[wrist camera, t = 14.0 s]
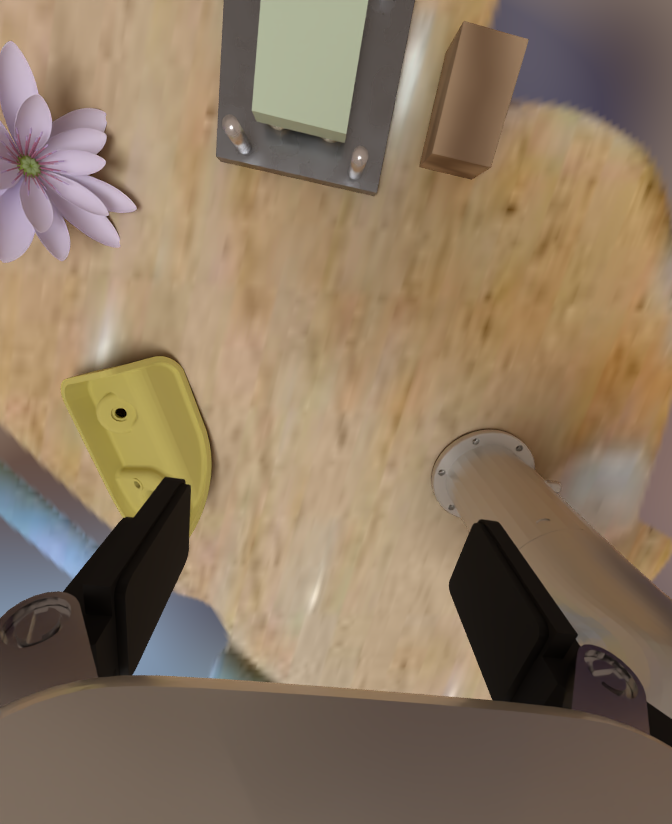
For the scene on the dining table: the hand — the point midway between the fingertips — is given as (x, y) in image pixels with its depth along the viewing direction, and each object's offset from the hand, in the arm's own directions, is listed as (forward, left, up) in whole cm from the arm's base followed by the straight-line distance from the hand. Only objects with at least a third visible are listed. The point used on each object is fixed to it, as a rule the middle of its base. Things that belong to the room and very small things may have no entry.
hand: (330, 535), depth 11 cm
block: (-8, -22, -28) cm, 37 cm away
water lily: (+24, -10, -29) cm, 39 cm away
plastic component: (+18, +14, -29) cm, 37 cm away
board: (+5, -23, -25) cm, 34 cm away
